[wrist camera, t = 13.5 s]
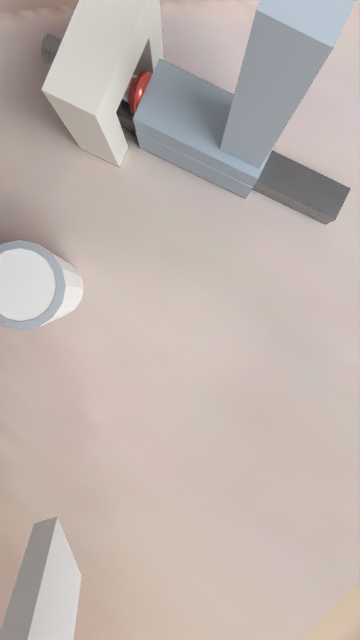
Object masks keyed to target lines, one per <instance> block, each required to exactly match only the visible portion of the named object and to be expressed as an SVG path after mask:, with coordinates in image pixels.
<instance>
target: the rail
mask: <svg viewBox="0 0 360 640" xmlns="http://www.w3.org/2000/svg"><path fill="white" fill-rule="evenodd" d="M116 114H117V116H118V119H119V122H120V125H121V126H123V127H125V128H127V129H129V130H131V131H133V132H135V133H136V129H135V125H134V121H133V117H134V114H132V113H131V111H130V103H128V102H126V101H124V100H121V102H120V105H119V107H118V109H117V111H116ZM252 189H253V190H255V191H257V192H259V193H261V194H263V195H265V196H268V197H270V198H272V199H274V200H276V201H278V202H280V203H282V204H284V205H286V206H288V207H290V208H292V209H294V210H297V211H299V212H301V213H303V214H305V215H307V216H309V217H311V218H313V219H315V220H317V221H319V222H321V223H323V224H328V223H330V222H332V221H334V220H335V219H336V217H337V215H338V213H339V211H340V209H341V207H342V205H343V203H344V201H345V199H346V197H347V195H348V193H349V191H350V188H348V187H346V186H344V185H342V184H340V183H338V182H336V181H334V180H332V179H330V178H328V177H326V176H324V175H322V174H320V173H318V172H316V171H313V170H311V169H309V168H307V167H305V166H303V165H301V164H299V163H297V162H295V161H293V160H291V159H289V158H287V157H285V156H283V155H281V154H279V153H277V152H274V151H271V153H270V155H269V157H268V159H267V161H266V163H265V166H264V168H263V170H262V172H261V174H260V176H259V178H258V180H257V182H256V183H255V185H254V186H253V188H252Z"/></svg>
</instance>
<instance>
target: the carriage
mask: <svg viewBox="0 0 360 640" xmlns="http://www.w3.org/2000/svg"><path fill="white" fill-rule="evenodd" d="M355 1H356V0H261V1H260V3H259V5H258V8H257V10H256V14H255V17H254V21H253V25H252V29H251V33H250V36H249V40H248V44H247V48H246V52H245V55H244V59H243V63H242V67H241V71H240V75H239V78H238V82H237V86H236V90H235V94H232V93H230V92H227V91H225V90H223V89H221V88H219V87H217V86H215V85H213V84H211V83H209V82H207V81H205V80H203V79H201V78H199V77H197V76H195V75H193V74H191V73H189V72H187V71H185V70H183V69H181V68H179V67H176V66H174V65H172V64H170V63H168V62H166V61H164V60H162V59H160V58H159V60H158V63H157V65H156V67H155V69H154V72H153V74H152V76H151V78H150V81H149V83H148V85H147V87H146V90H145V92H144V94H143V96H142V99H141V101H140V103H139V105H138V108H137V110H136V112H135V114H134V117H133V121H134V125H135V129H136V135H137V139H138V143H139V146H140V148H141V149H144V150H146V151H148V152H150V153H152V154H154V155H156V156H158V157H160V158H162V159H164V160H166V161H168V162H170V163H173V164H175V165H177V166H179V167H181V168H183V169H185V170H187V171H189V172H191V173H193V174H195V175H197V176H200V177H202V178H204V179H206V180H208V181H210V182H212V183H214V184H216V185H218V186H220V187H222V188H224V189H227V190H229V191H231V192H233V193H235V194H237V195H239V196H241V197H243V198H245V199H246V197H247V196H248V194H249V193H250V191H251V189H252V188H253V186H254V185H255V183H256V182H257V180H258V178H259V176H260V174H261V172H262V170H263V168H264V166H265V163H266V161H267V159H268V157H269V155H270V153H271V151H272V149H273V147H274V144H275V143H276V141H277V139H278V138H279V136H280V134H281V133H282V131H283V129H284V128H285V126H286V125H287V123H288V121H289V120H290V118H291V116H292V115H293V113H294V111H295V110H296V108H297V107H298V105H299V103H300V102H301V100H302V98H303V97H304V95H305V93H306V92H307V90H308V88H309V87H310V85H311V84H312V82H313V80H314V79H315V77H316V75H317V74H318V72H319V70H320V69H321V67H322V66H323V64H324V62H325V61H326V59H327V57H328V56H329V54H330V52H331V51H332V49H333V47H334V45H335V43H336V41H337V39H338V37H339V35H340V33H341V31H342V28H343V26H344V24H345V22H346V20H347V18H348V16H349V14H350V12H351V10H352V7H353V5H354V3H355Z"/></svg>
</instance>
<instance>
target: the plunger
mask: <svg viewBox="0 0 360 640" xmlns="http://www.w3.org/2000/svg"><path fill="white" fill-rule="evenodd" d="M61 42H62V39H60V38H58V37H56V36H54V35H52V34H47V35H46V36H45V38H44V40H43V44H42V57H43V60H44V61H45V63H47V64H49V65H52V63H53V61H54V58H55V56H56V54H57V51H58V49H59V47H60V44H61ZM151 76H152V73H150V72H148V71H146V70H142V71H141V72H140V73H139V75H138V76H136V75H134V74H133V75H132V77H131V80H130V82H129V84H128V86H127V89H126V91H125V93H124V95H123V98H122V100H124V101H126V102H128V103H130V111H131V113H132V114H135V112H136V110H137V108H138V105H139V103H140V101H141V99H142V96H143V94H144V92H145V90H146V87H147V85H148V83H149V81H150V78H151Z"/></svg>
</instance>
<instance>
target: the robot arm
mask: <svg viewBox="0 0 360 640" xmlns="http://www.w3.org/2000/svg"><path fill="white" fill-rule="evenodd" d="M80 584H81V574H80V572H79V569H78V567H77V564H76V562H75V559H74V557H73V554H72V552H71V549H70V547H69V545H68V542H67V540H66V537H65V535H64V532H63V530H62V527H61V525H60V522H59V520H58V517H55V518H52V519H48V520H45V521H42V522H38V523H35V524H34V526H33V530H32V533H31V536H30V539H29V542H28V545H27V549H26V552H25V555H24V558H23V561H22V564H21V568H20V571H19V574H18V577H17V580H16V583H15V587H14V590H13V593H12V596H11V599H10V603H9V606H8V609H7V612H6V615H5V618H4V622H3V625H2V628H1V631H0V640H73V638H74V630H75V623H76V615H77V607H78V599H79V592H80Z"/></svg>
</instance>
